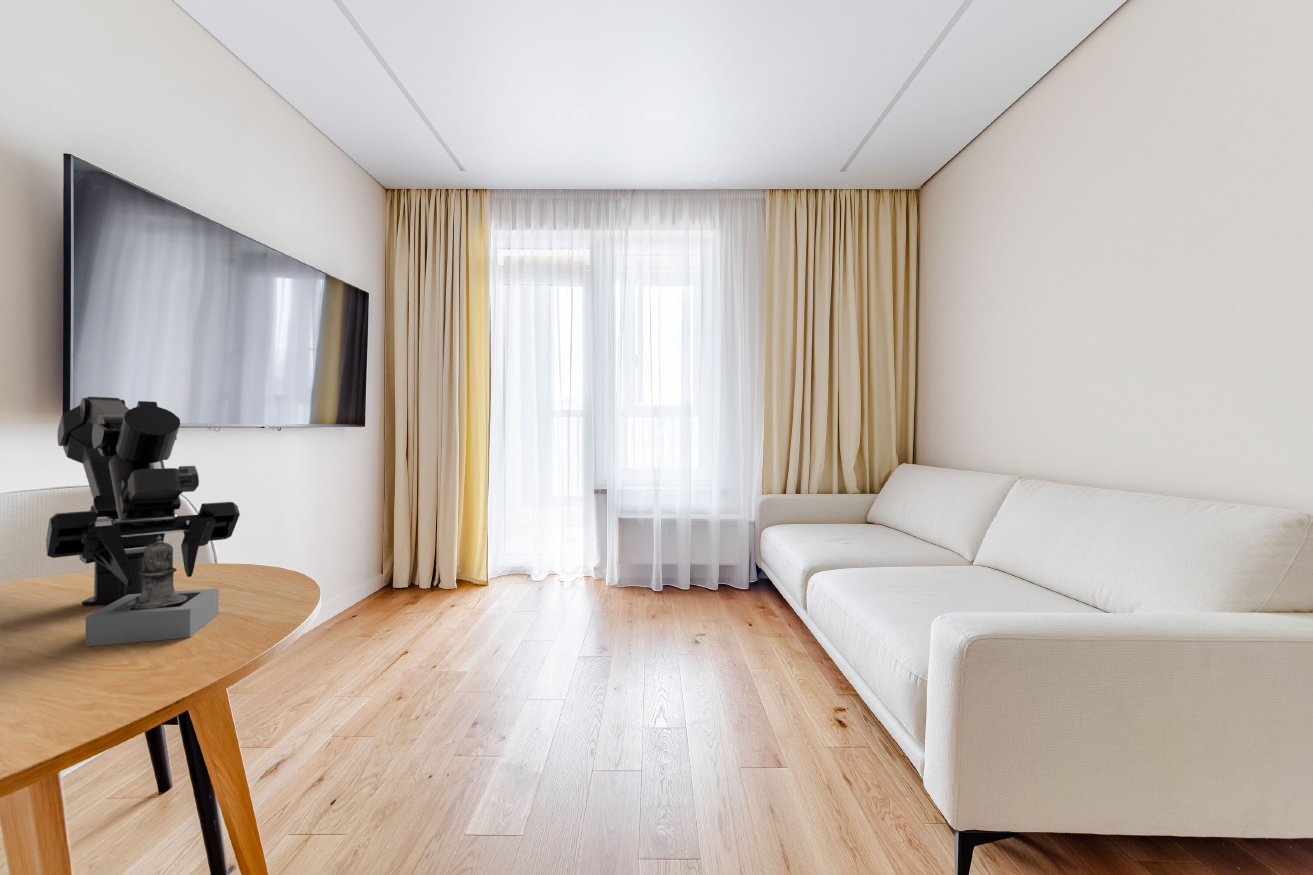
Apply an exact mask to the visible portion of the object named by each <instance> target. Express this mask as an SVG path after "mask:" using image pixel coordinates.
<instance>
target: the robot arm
mask: <svg viewBox="0 0 1313 875" xmlns="http://www.w3.org/2000/svg"><path fill="white" fill-rule="evenodd" d="M136 404H137V405H136V407H132V408H131V409H130V408H129V407H127V405H126V401H125V399H120V398H119V397H109V396H108V397H105V396H87V397H82V398H81V400H80V403H79V405H78V406H76V407H74V408H72V409H70V410H68V411H66V412H64V413H62V414H61V417H60V419H59V420H60V421H59V424H58V428H57V437H56V438H57V445H58V446H59V447H63V451H64V454H65V456H66V457H67V458H68V459H69V460H73V461H75V462H77V463H81V464H82V466H83V469H84V473H85V476H86V479H87V483H88V486H89V489H90V493H91V496H92V499H93V500H92V502H93V503H92V505H91V506H90V509H89V510H87V511H84V510H83V511H72V512H71V511H70V512H69V511H68V512H56V513H54V514H53V515H52V516H51V517H50V518H49V521H48V524H47V525H48V526H47V532H46V539H45V540H46V541H45V548H46V556H47V557H50V558H51V559H57V558H65V557H75V556H79V560H80V561H81V562H82V563H84V564H85V565H86V564H91V563H94V576H93V580H94V581H93V582H94V583H93V584H94V585H93V586H94V587H93V596H91V597H88V598H85V599H84V600H82V601H81V605H82V606H85V605H86V606H87V605H88V606H89V605H100V604H101V605H102V604H111V603H113V602H115V601H117V600H119V599H121V598H123V597H124V596H126V595H128V594H141V593H142V589H143V576H142V575H140V572H142V571H144V550H145V548H146V547H147V546H148V545H150V544H153V543H154V542H156V541H157V540H156V538H157V537H158V535H159V536H161V538H162V539H161V541H163V542H164V539H165V537H166V534H171V533H181V532H182V533H183V535H184V536H183V538H182V542H181V545H180V548H181V556H182V561H183V567H184V572H185V574H186V576H187V577H188V578H191V577H192V576H193V573H194V570H195V566H196V560H197V554H198V551H199V547H203V546H206V545H208V544H209V542H213V541H220V540H222V541H223V540H226V539H229V538H231V537H232V535H233V533H234V530H235V528H236V525H237V523H238V521H239V517H240V515H241V514H240V511H239V507H238V505H237V504H236V503H235V502H233V501H219V502H205V503H201V506H200V507H199V508H200V509H199V512H198V514H191V515H189V514H188V515H177V514H176V510H180V508H181V506H182V503H181V498H180V495H182V494H183V493H189V492H191V493H192V492H193V493H194V492H195V491H196V490H197V489H198V487H199V486H200V480H199V477H200V476H199V473H198V469H197V466H195V465H182V466H181V465H180V466H179V467H178V468H176V467H171V468H170V467H169V468H168V467H167V468H166V467H165V462H164V461H167V460H169V459H170V457H171V454H172V451H173V447H174V445H175V442H176V441H177V437H178V432H179V430H180V425H181V419H180V417H179V416H177V415H176V414H175V413H173V412H172V411H171V410H168V409H165V408H163V407H160V406H158V402H157V401H144V400H142V401H141V400H138V402H137V403H136Z"/></svg>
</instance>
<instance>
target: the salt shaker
mask: <svg viewBox="0 0 1313 875" xmlns="http://www.w3.org/2000/svg"><path fill="white" fill-rule="evenodd" d="M161 539H162V538H161V536H159V535H158V537H157V538H156V540H157V541H156V542H154V543H153V544H150V545H148V546H147V547H144V548H145V550H144V571H142V572H140V575H142V576H143V589H142V593H141V596H140V598H138V599H137V600H136V601H133V602H130V603H129V604H128V605H127V607H128V608H129V609H130V610H142V609H155V608H169V607H181V606H182V605H183V604H184V601H186V600H187V596H185V595H179V594H177V593H176V592H175V591H176V589H175V587H174V573H175V572H177V568H175V567H174V565H173V564H174V548H173V546H172V545H171V544H170V543H168V542H164V541H161Z"/></svg>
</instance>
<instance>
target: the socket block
mask: <svg viewBox="0 0 1313 875" xmlns="http://www.w3.org/2000/svg"><path fill="white" fill-rule="evenodd" d="M175 592H176V593H177V594H179V595H185V596H187V600H186V601H184V604H183V605H182V606H181V607H169V608H155V609H142V610H130V609H129V608H128V607H127V605H128V604H129V603H130V602H133V601H136V600H137V599H138V598H140V596H141V594H128V595H126V596H124V597H123V598H121V599H119V600H117V601H115V602H113V603H108V604H107V605H105V606H104V607H102V608H100V609H98V610H95V612H93V613H90V614H88V615H86V616H85V647H86V648H87V647H88V648H89V647H96V646H97V647H98V646H106V645H107V646H108V645H119V644H132V643H142V642H143V643H144V642H153V641H155V642H156V641H163V640H164V641H165V640H173V639H174V640H175V639H186V638H191V637H192V636H193V635H194V634H196V633H197V632H198V631H200V630H201V629H202V628H203V627H204V626H206V624H208V623H209V622H210V621H211V620H213V619H214V618H215V617H216V616H218V615H219V605H220V604H219V601H220V600H219V594H220V593H219V592H220V590H219V588H206V589H193V590H189V589H188V590H178V591H177V590H175Z"/></svg>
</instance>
